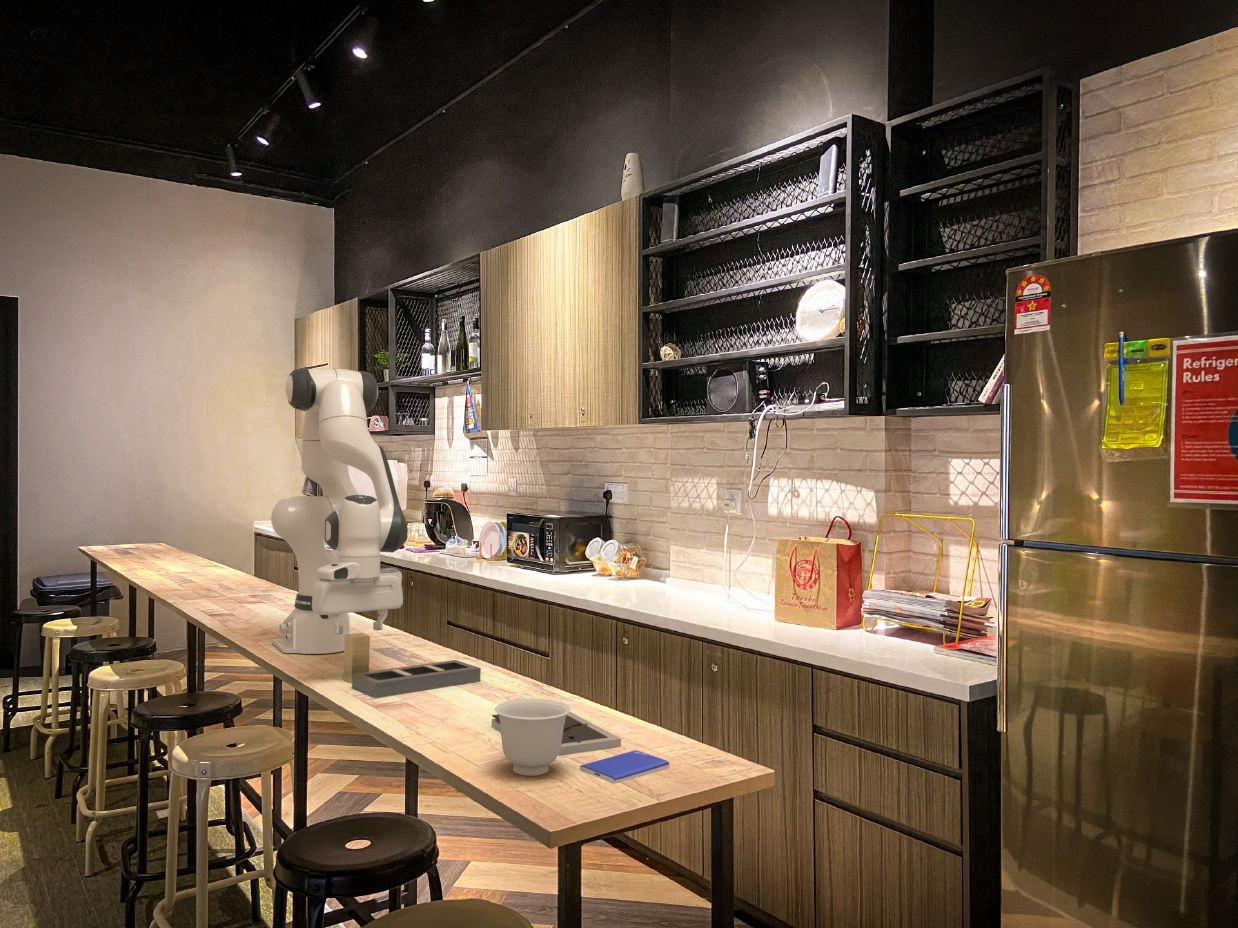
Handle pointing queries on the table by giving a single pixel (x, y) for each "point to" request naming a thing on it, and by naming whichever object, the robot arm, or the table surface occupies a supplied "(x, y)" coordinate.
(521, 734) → the teacup
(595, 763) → the hard drive
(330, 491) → the robot arm
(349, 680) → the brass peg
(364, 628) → the table surface
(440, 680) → the grey compartment tray
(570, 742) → the picture frame
